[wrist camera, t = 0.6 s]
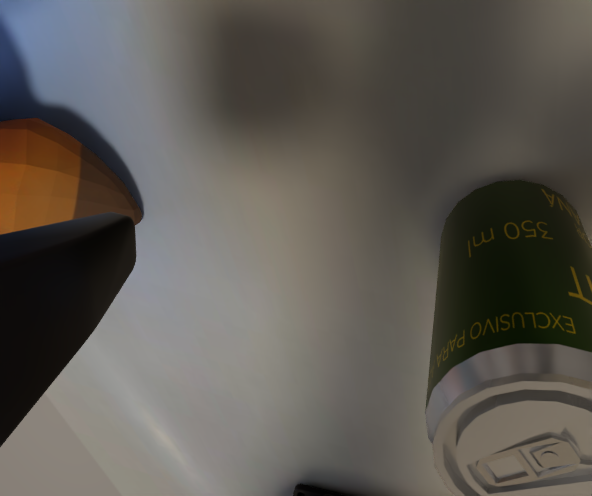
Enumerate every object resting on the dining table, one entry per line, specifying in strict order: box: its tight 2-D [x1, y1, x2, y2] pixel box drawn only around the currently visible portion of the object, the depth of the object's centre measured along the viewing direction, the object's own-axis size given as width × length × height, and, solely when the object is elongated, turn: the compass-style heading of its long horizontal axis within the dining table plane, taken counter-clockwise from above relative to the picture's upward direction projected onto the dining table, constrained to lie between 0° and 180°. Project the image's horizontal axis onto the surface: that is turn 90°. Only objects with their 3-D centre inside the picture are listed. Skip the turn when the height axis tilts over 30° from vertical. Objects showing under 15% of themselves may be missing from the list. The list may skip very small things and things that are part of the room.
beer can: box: [425, 180, 592, 496], centre depth 18 cm, size 5×5×12 cm
